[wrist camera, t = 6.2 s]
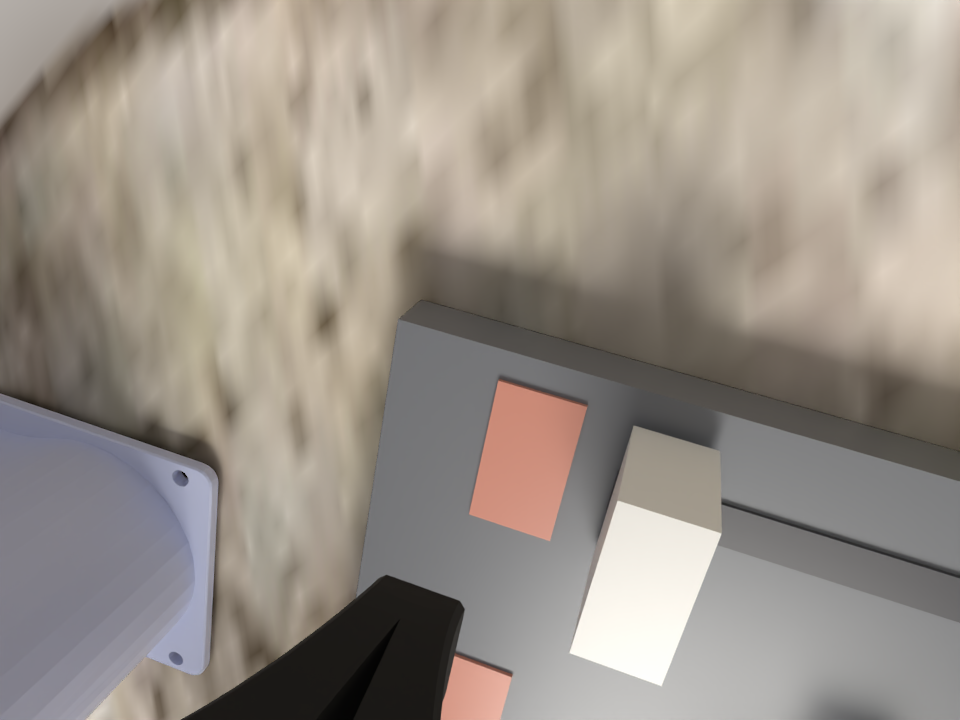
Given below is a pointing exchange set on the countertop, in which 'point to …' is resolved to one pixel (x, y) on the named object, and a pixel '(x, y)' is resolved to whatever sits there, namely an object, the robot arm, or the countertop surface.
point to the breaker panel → (734, 566)
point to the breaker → (650, 555)
